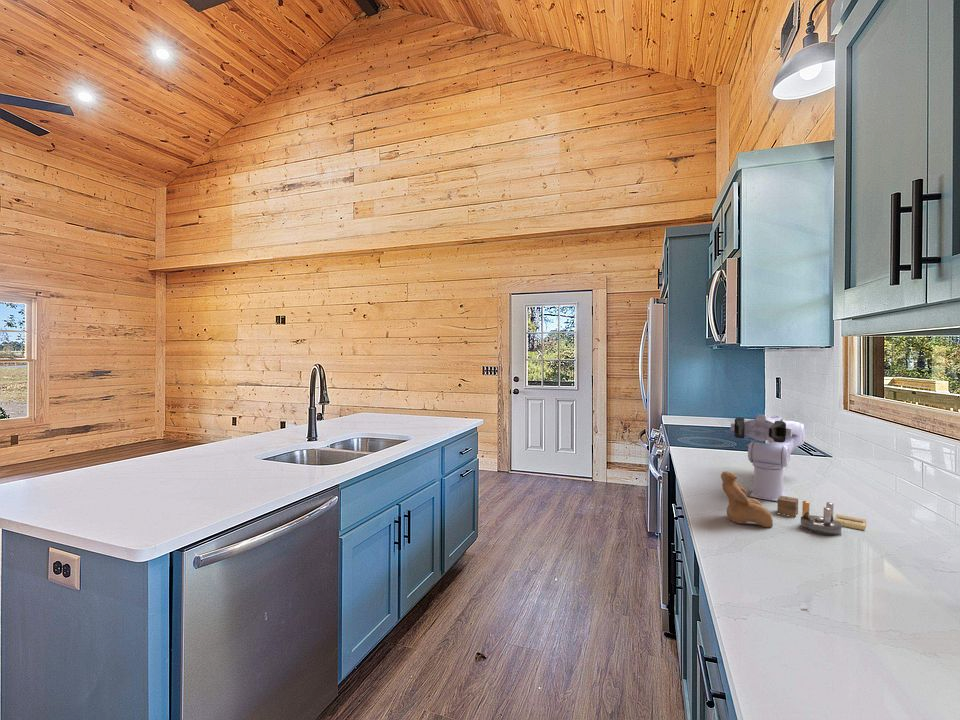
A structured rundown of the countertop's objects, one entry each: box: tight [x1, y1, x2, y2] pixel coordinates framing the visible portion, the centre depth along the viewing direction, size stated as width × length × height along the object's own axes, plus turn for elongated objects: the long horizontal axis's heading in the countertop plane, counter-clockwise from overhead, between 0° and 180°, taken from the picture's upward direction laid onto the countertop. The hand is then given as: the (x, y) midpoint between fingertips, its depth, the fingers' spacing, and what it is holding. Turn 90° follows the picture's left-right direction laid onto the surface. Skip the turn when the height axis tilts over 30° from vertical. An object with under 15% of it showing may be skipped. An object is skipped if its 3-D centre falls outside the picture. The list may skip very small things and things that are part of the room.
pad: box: [833, 514, 867, 531], centre depth 121 cm, size 6×6×1 cm
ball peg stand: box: [800, 500, 842, 537], centre depth 117 cm, size 8×8×6 cm
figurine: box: [720, 471, 774, 528], centre depth 123 cm, size 11×9×15 cm
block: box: [776, 496, 799, 518], centre depth 129 cm, size 4×4×4 cm
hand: (753, 430), depth 128 cm, fingers open, 7 cm apart
